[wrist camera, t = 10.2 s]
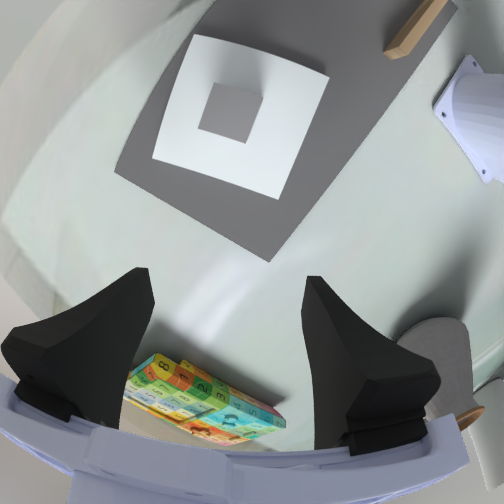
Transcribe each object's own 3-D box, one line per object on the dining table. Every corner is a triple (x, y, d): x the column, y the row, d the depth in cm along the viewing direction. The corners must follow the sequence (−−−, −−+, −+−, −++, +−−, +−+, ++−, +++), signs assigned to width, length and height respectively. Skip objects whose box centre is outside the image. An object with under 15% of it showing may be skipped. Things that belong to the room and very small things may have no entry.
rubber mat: (455, 8, 10) (458, 7, 9) (268, 259, 22) (268, 262, 22) (319, -86, 6) (320, -88, 6) (116, 170, 19) (113, 172, 18)
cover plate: (325, 79, 15) (348, 68, 10) (277, 194, 19) (282, 222, 15) (198, 38, 14) (176, 15, 9) (158, 155, 18) (126, 171, 13)
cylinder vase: (502, 384, 38) (533, 457, 16) (464, 413, 42) (488, 488, 20) (500, 370, 34) (538, 457, 12) (456, 405, 39) (485, 494, 17)
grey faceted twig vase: (434, 288, 23) (505, 402, 10) (468, 324, 26) (517, 411, 13) (304, 396, 32) (312, 499, 19) (356, 411, 35) (372, 494, 22)
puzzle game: (227, 450, 34) (109, 396, 27) (229, 426, 38) (120, 369, 32) (286, 433, 30) (150, 367, 23) (284, 405, 34) (162, 334, 27)
